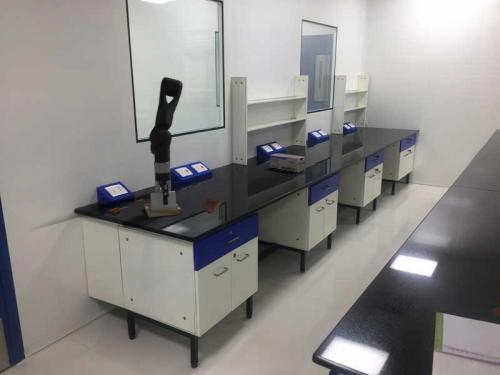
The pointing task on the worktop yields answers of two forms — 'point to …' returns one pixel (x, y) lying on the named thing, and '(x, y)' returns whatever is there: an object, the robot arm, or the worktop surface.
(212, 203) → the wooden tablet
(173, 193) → the pvc sheet
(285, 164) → the surgical sutures box
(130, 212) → the worktop surface
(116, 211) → the decorative fence
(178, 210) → the rack
